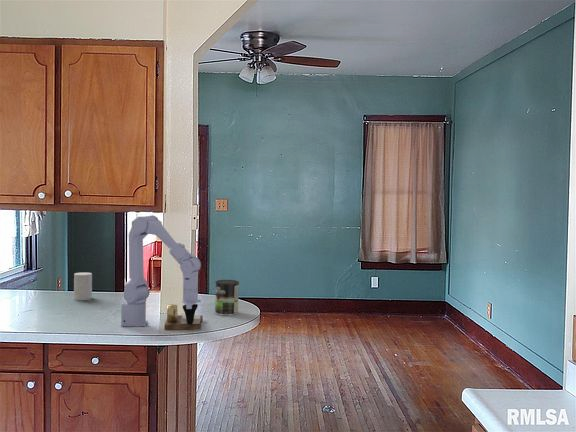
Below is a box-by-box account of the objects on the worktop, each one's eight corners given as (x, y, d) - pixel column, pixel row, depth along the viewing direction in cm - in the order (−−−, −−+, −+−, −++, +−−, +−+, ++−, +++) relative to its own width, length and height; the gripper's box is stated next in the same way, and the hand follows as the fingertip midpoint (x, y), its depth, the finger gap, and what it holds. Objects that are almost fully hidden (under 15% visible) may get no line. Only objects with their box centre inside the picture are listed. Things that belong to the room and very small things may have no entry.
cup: (70, 299, 293) (70, 274, 292) (81, 296, 301) (80, 271, 300) (85, 300, 290) (85, 275, 290) (95, 297, 298) (95, 273, 297)
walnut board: (164, 329, 239) (164, 324, 239) (168, 320, 255) (168, 315, 255) (200, 329, 240) (200, 324, 240) (202, 320, 256) (202, 315, 256)
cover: (181, 323, 240) (181, 318, 240) (182, 319, 247) (182, 314, 247) (199, 323, 241) (199, 318, 241) (200, 319, 248) (200, 314, 248)
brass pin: (166, 322, 242) (166, 306, 242) (167, 320, 246) (167, 304, 246) (176, 322, 242) (176, 306, 242) (177, 320, 246) (177, 304, 246)
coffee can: (224, 317, 263) (225, 284, 262) (210, 312, 270) (210, 281, 269) (243, 313, 270) (243, 281, 269) (228, 309, 277) (229, 278, 277)
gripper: (199, 292, 230) (199, 328, 231) (201, 285, 245) (201, 319, 246) (180, 292, 230) (180, 328, 231) (183, 285, 244) (183, 319, 245)
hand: (190, 323), depth 238 cm, fingers closed
